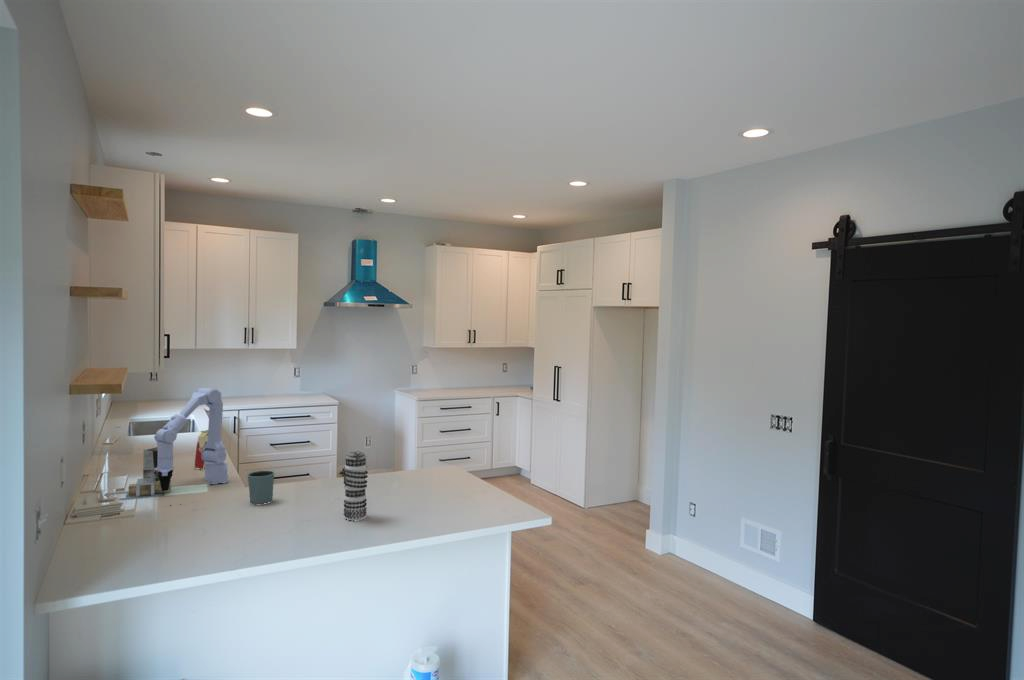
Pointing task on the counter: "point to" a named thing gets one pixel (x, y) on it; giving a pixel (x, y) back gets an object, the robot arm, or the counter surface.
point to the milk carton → (200, 450)
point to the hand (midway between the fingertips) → (165, 489)
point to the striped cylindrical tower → (355, 486)
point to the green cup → (261, 486)
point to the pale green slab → (173, 491)
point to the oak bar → (147, 489)
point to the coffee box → (150, 463)
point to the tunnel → (145, 482)
